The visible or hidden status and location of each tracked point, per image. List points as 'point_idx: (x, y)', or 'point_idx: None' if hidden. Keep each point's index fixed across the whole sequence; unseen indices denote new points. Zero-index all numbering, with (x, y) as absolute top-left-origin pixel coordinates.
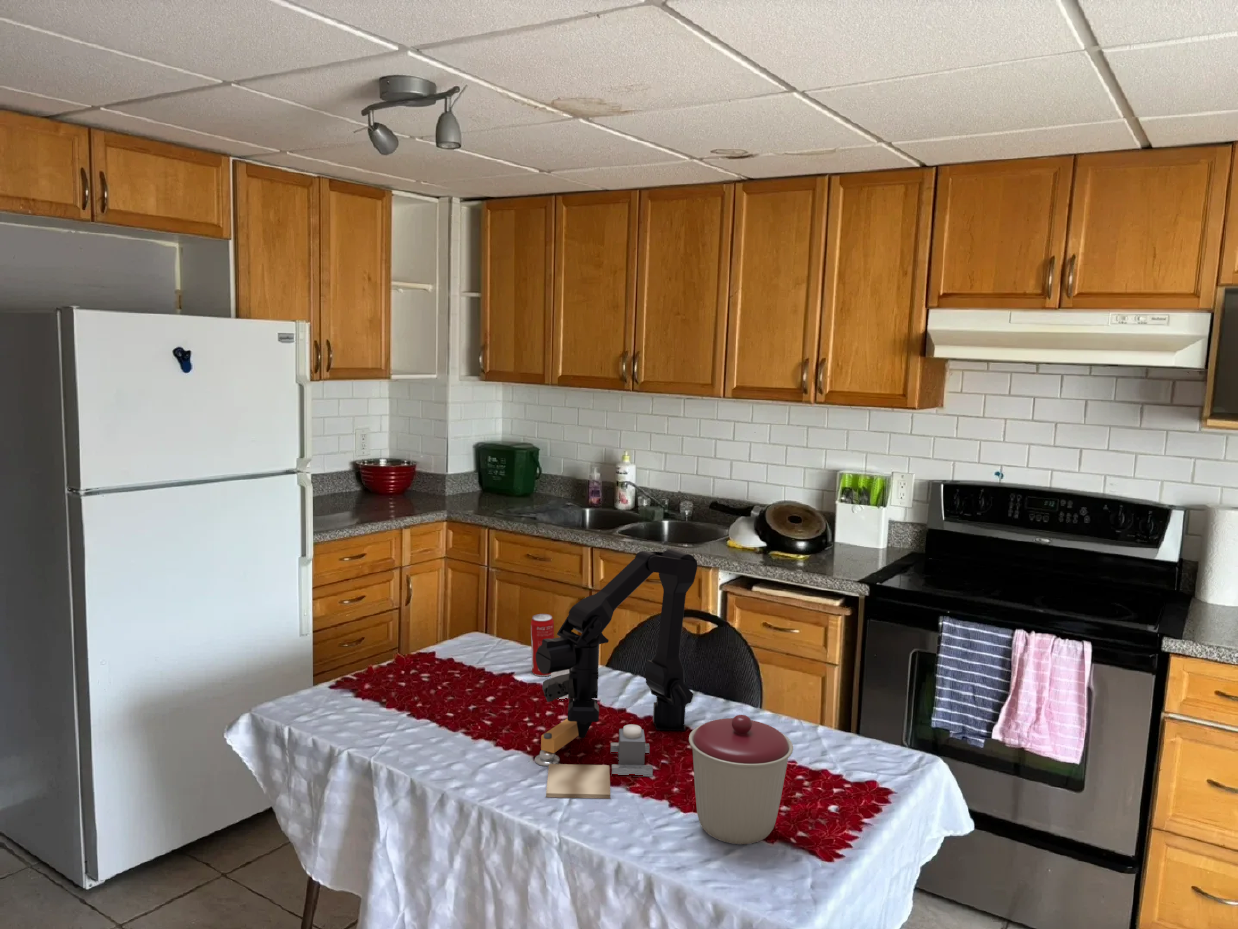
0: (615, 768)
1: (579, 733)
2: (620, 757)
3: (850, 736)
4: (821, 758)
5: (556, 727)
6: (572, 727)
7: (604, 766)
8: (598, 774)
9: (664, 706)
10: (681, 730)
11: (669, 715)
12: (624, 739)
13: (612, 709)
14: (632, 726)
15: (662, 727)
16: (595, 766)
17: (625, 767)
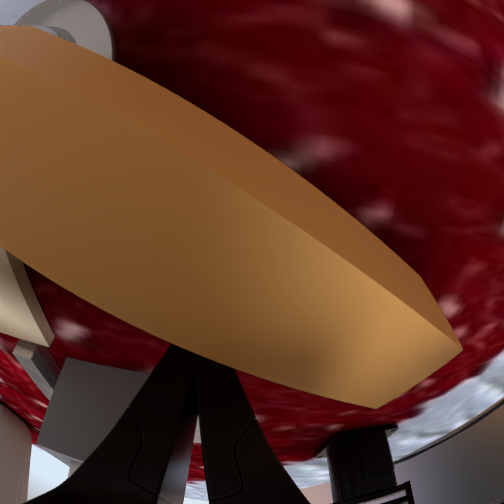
0: (18, 358)
1: (173, 346)
2: (54, 394)
3: None
4: (203, 489)
5: (128, 168)
6: (195, 342)
7: (35, 333)
8: None
9: (346, 489)
10: (316, 453)
11: (334, 474)
12: (56, 454)
13: (494, 353)
14: None
15: (336, 442)
16: (20, 308)
17: (33, 379)
